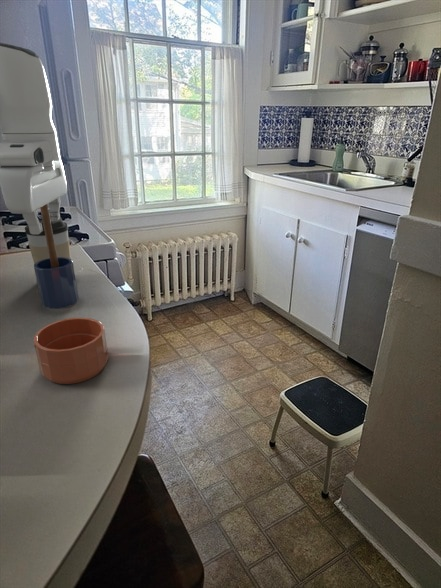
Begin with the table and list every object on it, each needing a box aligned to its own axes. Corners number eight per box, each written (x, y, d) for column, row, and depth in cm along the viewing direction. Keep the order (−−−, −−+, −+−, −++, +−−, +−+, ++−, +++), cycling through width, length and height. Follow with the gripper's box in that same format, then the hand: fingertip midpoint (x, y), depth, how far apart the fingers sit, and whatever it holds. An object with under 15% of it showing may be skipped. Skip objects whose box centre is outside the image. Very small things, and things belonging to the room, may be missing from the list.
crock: (36, 311, 79) (27, 269, 75) (49, 296, 85) (42, 257, 82) (72, 310, 79) (65, 269, 75) (83, 295, 86) (76, 256, 82)
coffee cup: (37, 276, 96) (25, 216, 89) (76, 272, 98) (67, 213, 92) (34, 291, 88) (20, 225, 82) (76, 286, 90) (66, 222, 84)
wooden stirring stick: (55, 303, 81) (35, 201, 72) (60, 297, 83) (42, 197, 75) (62, 303, 81) (43, 201, 72) (67, 297, 83) (49, 197, 75)
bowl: (30, 387, 57) (21, 351, 54) (54, 349, 66) (48, 317, 63) (99, 385, 57) (94, 350, 55) (114, 348, 66) (110, 316, 64)
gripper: (37, 146, 79) (49, 214, 85) (-15, 155, 60) (5, 242, 66) (69, 146, 79) (79, 214, 85) (27, 155, 61) (43, 241, 66)
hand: (46, 226), depth 75 cm, fingers open, 8 cm apart
